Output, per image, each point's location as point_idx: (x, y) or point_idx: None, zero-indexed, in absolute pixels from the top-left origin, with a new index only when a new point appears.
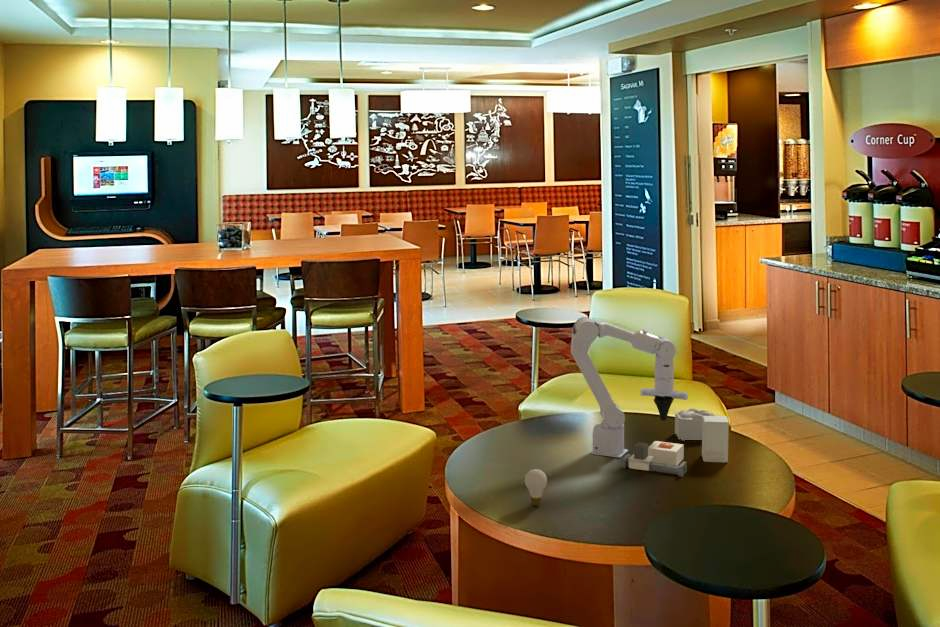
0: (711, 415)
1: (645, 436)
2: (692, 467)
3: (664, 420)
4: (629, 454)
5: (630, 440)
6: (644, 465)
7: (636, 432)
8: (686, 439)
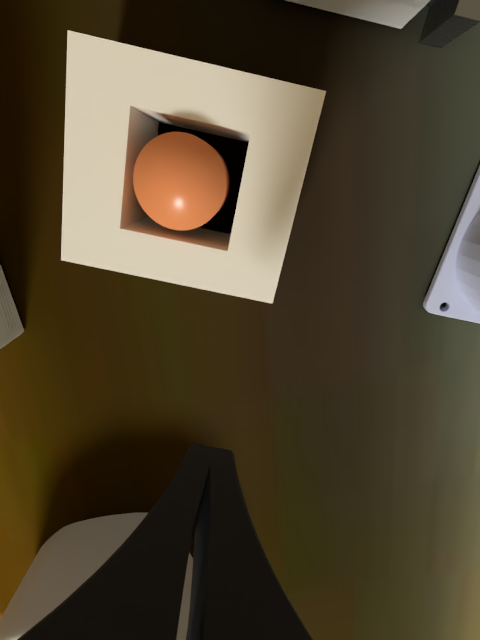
0: None
1: (328, 534)
2: (12, 70)
3: (194, 446)
4: (466, 3)
5: (400, 475)
6: None
7: (369, 573)
8: (141, 517)
